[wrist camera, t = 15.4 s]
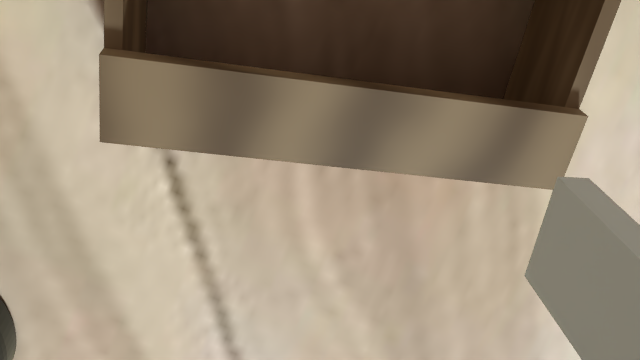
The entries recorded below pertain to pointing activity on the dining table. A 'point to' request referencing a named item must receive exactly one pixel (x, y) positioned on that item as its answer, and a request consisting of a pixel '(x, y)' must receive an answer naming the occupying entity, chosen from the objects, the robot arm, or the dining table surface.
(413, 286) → the dining table surface
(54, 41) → the dining table surface
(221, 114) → the walnut box
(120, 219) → the dining table surface
